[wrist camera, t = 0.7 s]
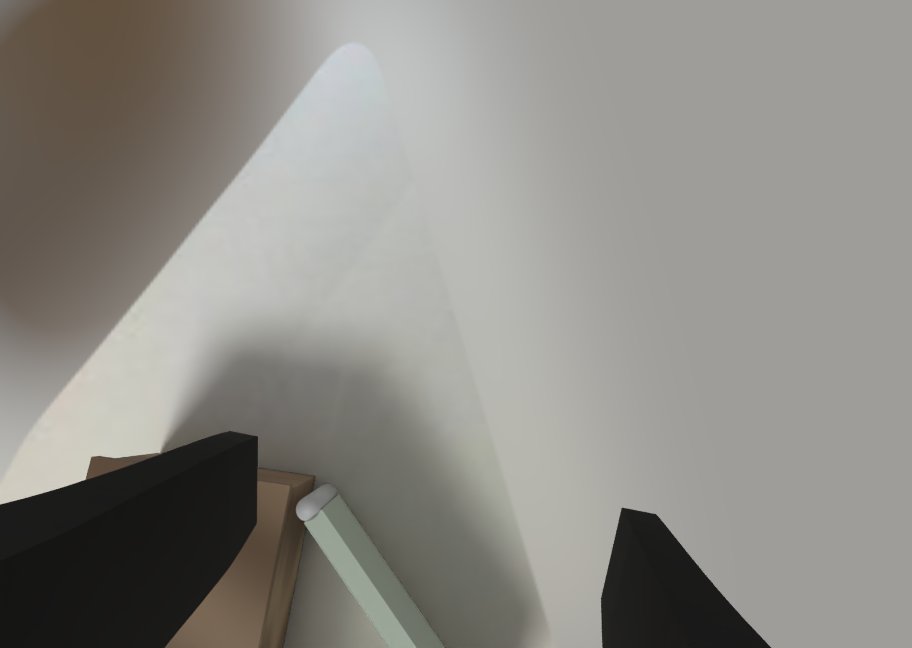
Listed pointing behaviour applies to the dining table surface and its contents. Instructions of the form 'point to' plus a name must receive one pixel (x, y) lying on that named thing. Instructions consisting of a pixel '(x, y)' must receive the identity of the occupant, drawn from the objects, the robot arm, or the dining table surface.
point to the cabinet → (247, 568)
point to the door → (365, 571)
